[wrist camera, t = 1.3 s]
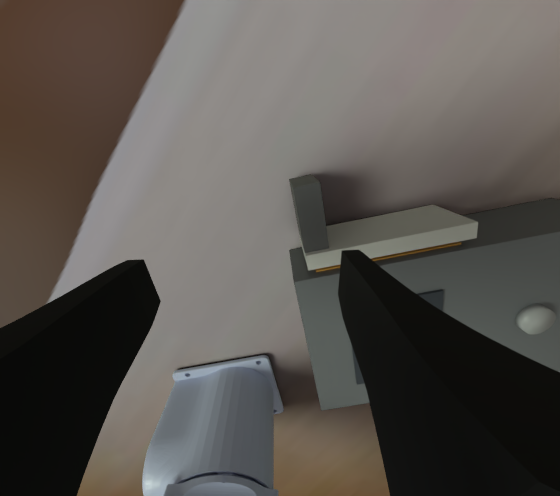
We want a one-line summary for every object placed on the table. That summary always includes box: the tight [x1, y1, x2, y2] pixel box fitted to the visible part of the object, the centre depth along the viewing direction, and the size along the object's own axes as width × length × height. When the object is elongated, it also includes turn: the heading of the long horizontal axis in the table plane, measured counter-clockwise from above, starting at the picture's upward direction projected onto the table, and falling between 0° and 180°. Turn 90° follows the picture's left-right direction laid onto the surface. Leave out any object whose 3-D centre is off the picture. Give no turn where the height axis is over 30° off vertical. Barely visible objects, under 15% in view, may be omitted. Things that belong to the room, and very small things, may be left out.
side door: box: [289, 175, 478, 271], centre depth 16 cm, size 10×5×4 cm, turn 102°
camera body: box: [289, 198, 560, 411], centre depth 19 cm, size 22×12×6 cm, turn 102°
